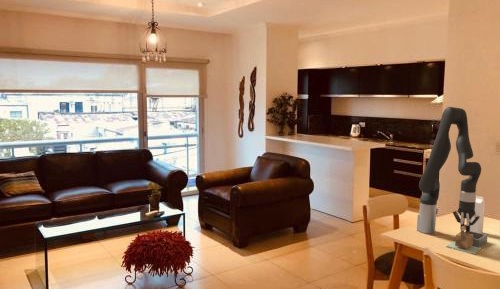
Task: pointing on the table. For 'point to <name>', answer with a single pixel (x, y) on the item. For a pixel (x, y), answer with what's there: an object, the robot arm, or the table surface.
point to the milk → (480, 212)
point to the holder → (478, 239)
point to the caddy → (464, 238)
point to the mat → (470, 250)
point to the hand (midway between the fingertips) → (465, 231)
